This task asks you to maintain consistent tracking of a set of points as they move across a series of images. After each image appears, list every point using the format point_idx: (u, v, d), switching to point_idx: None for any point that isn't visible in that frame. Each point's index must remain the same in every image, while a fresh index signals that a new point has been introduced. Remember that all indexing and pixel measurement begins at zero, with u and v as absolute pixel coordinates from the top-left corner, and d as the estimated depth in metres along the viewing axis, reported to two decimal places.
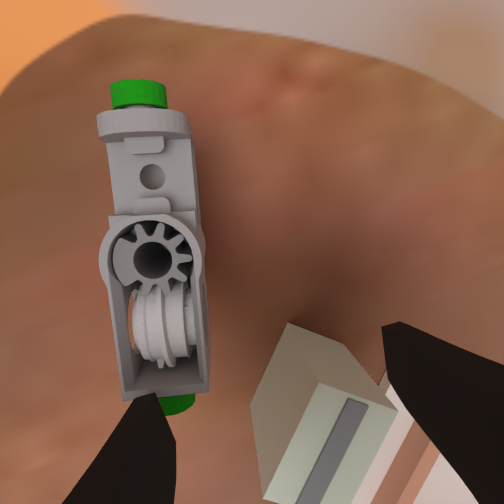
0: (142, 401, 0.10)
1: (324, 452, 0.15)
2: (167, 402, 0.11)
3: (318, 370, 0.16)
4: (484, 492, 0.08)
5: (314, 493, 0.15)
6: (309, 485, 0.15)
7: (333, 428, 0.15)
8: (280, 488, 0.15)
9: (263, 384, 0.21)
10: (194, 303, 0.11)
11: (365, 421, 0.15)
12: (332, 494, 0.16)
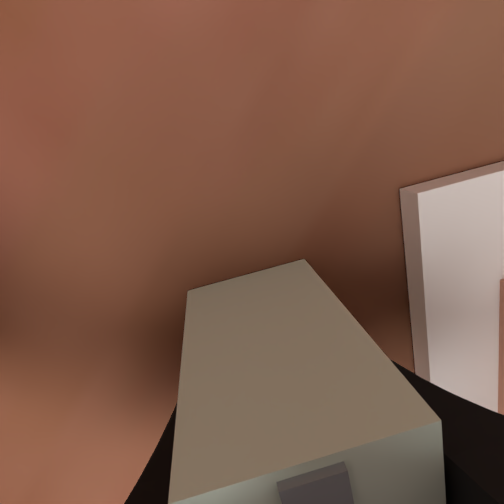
0: None
1: None
2: None
3: (197, 423, 0.06)
4: None
5: None
6: None
7: None
8: None
9: None
10: None
11: (367, 494, 0.05)
12: None
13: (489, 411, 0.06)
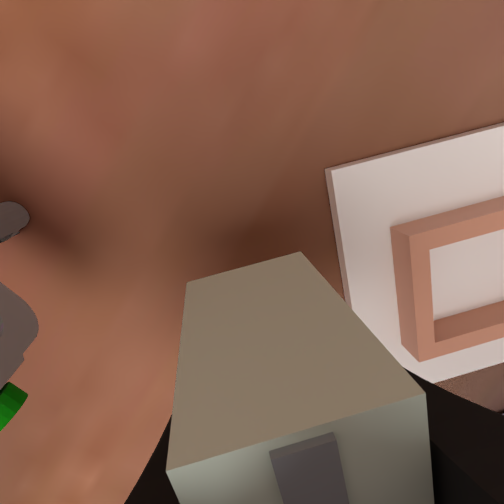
0: None
1: None
2: None
3: (194, 400, 0.06)
4: None
5: None
6: None
7: None
8: None
9: None
10: None
11: (355, 464, 0.05)
12: None
13: (489, 411, 0.06)
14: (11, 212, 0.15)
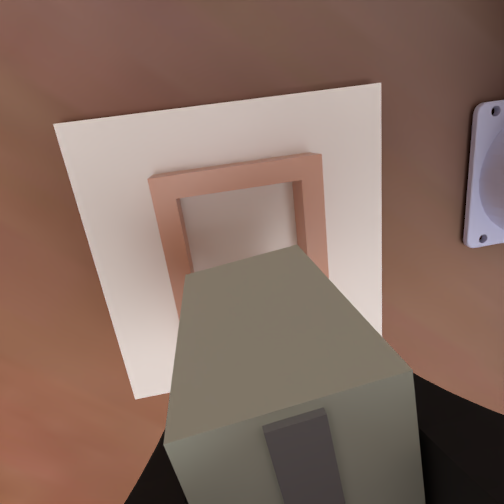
0: None
1: None
2: None
3: (191, 382, 0.06)
4: None
5: None
6: None
7: (282, 496, 0.06)
8: None
9: None
10: None
11: (346, 440, 0.06)
12: None
13: (489, 411, 0.06)
14: None
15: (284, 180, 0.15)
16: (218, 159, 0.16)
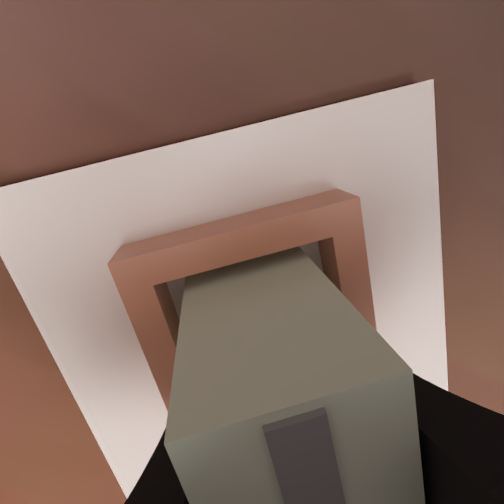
0: None
1: None
2: None
3: (191, 381, 0.06)
4: None
5: None
6: None
7: (283, 496, 0.06)
8: None
9: None
10: None
11: (346, 439, 0.06)
12: None
13: (489, 411, 0.06)
14: None
15: (308, 241, 0.10)
16: (210, 213, 0.12)
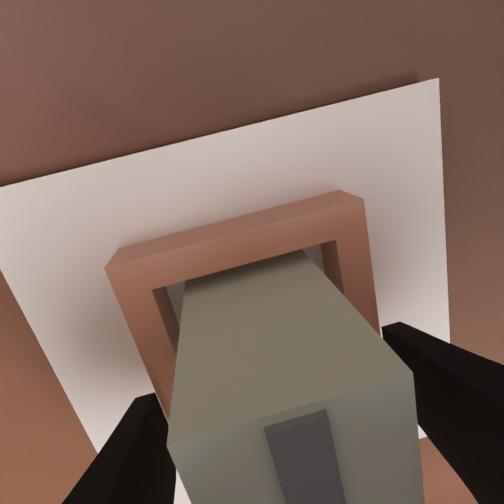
0: (141, 400, 0.10)
1: None
2: None
3: (193, 383, 0.06)
4: (484, 492, 0.08)
5: None
6: None
7: (283, 496, 0.06)
8: None
9: None
10: None
11: (346, 441, 0.06)
12: None
13: None
14: None
15: (311, 243, 0.10)
16: (210, 215, 0.11)
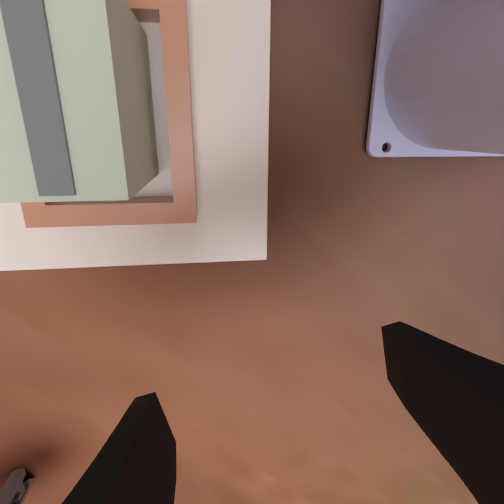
0: (142, 400, 0.10)
1: (20, 86, 0.09)
2: None
3: None
4: (484, 492, 0.08)
5: (52, 164, 0.10)
6: (37, 154, 0.10)
7: (7, 36, 0.09)
8: (2, 177, 0.10)
9: None
10: None
11: (53, 3, 0.09)
12: (86, 159, 0.10)
13: None
14: (6, 485, 0.22)
15: (138, 6, 0.13)
16: None
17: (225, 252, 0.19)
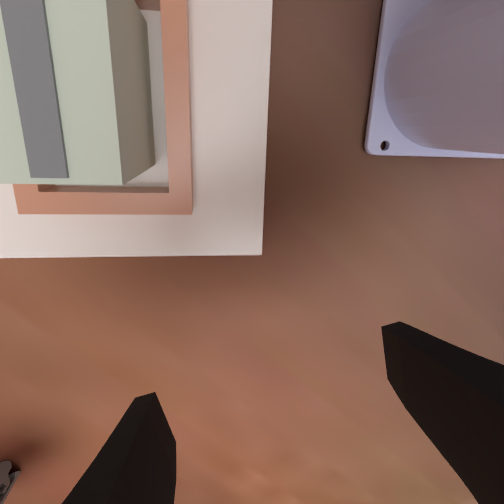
0: (142, 400, 0.10)
1: (14, 63, 0.09)
2: None
3: None
4: (484, 492, 0.08)
5: (45, 145, 0.10)
6: (30, 135, 0.10)
7: (2, 11, 0.09)
8: None
9: None
10: None
11: None
12: (80, 142, 0.10)
13: None
14: None
15: None
16: None
17: (220, 246, 0.19)
